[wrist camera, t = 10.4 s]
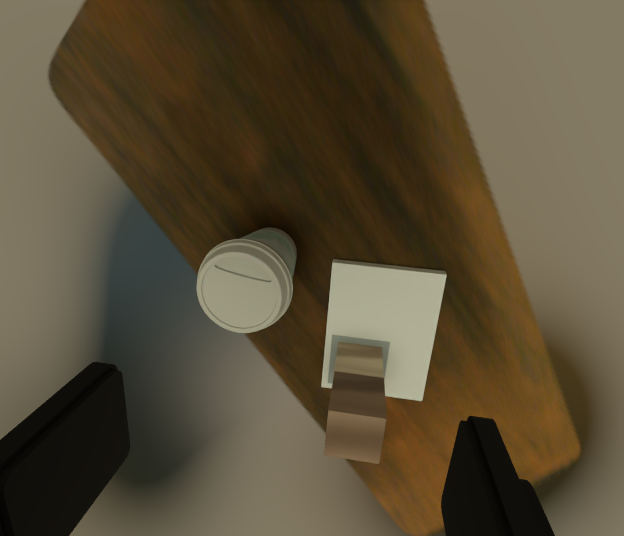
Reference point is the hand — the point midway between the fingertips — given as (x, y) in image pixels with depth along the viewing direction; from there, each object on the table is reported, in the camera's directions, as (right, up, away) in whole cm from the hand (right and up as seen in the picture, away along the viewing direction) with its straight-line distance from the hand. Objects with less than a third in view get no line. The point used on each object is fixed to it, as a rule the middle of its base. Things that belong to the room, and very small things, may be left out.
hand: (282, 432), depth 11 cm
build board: (+9, -3, +35) cm, 36 cm away
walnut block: (+5, -9, +30) cm, 32 cm away
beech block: (+6, -7, +36) cm, 37 cm away
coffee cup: (-4, +6, +34) cm, 35 cm away
